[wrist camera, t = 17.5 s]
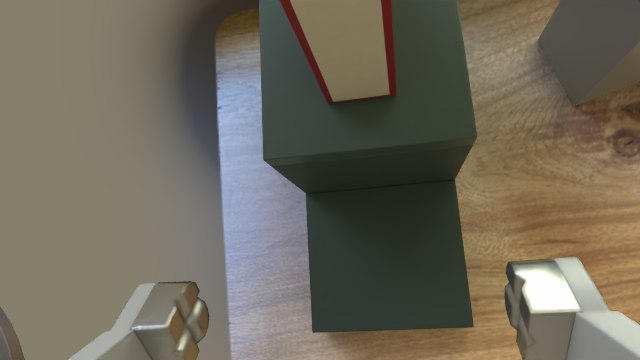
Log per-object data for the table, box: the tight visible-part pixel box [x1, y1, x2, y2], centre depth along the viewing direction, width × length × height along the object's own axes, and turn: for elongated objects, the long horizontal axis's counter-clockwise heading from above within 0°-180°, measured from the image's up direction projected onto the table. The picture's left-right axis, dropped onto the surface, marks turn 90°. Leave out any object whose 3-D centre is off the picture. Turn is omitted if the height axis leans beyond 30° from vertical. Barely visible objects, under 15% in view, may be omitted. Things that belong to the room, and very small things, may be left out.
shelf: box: [259, 0, 477, 333], centre depth 31 cm, size 12×25×14 cm, turn 3°
